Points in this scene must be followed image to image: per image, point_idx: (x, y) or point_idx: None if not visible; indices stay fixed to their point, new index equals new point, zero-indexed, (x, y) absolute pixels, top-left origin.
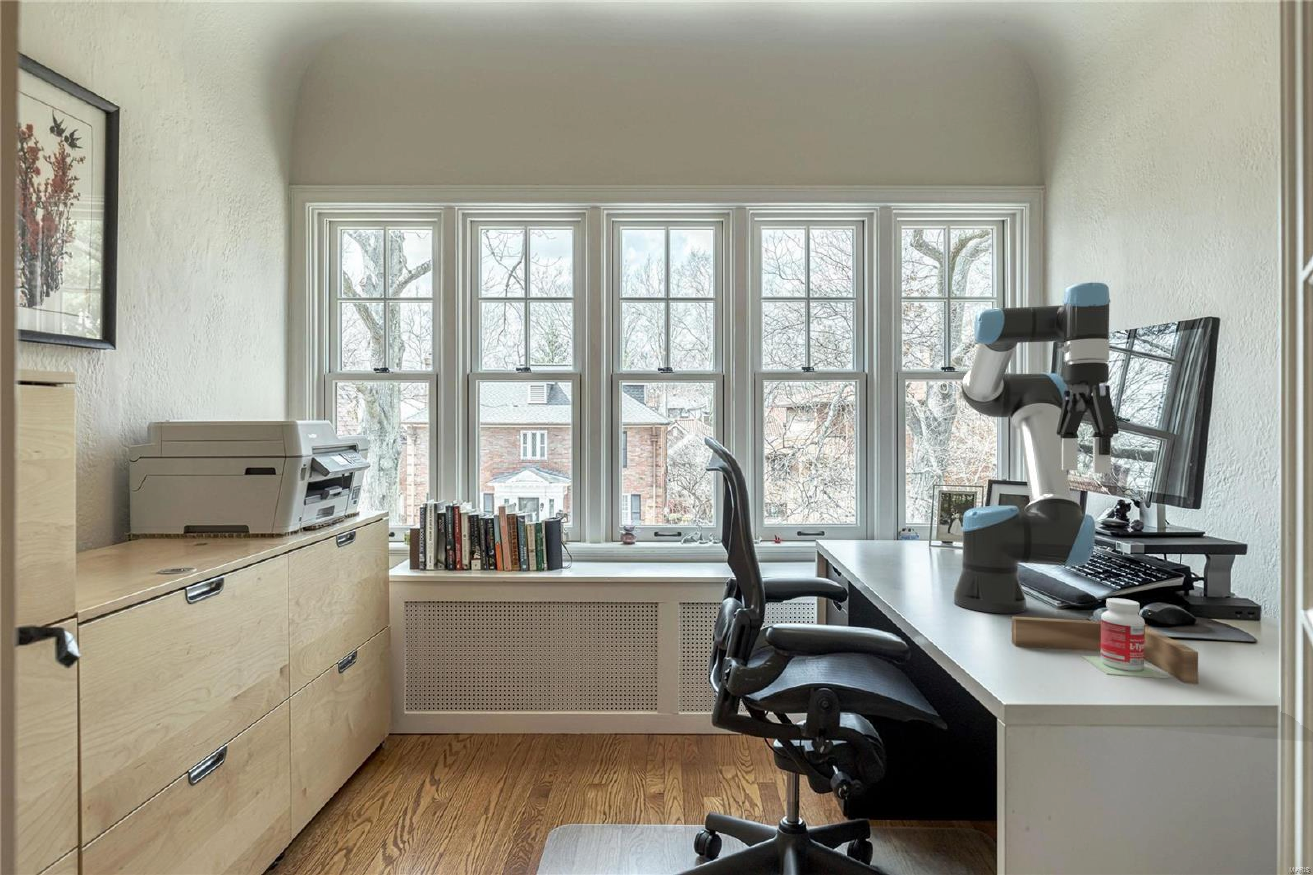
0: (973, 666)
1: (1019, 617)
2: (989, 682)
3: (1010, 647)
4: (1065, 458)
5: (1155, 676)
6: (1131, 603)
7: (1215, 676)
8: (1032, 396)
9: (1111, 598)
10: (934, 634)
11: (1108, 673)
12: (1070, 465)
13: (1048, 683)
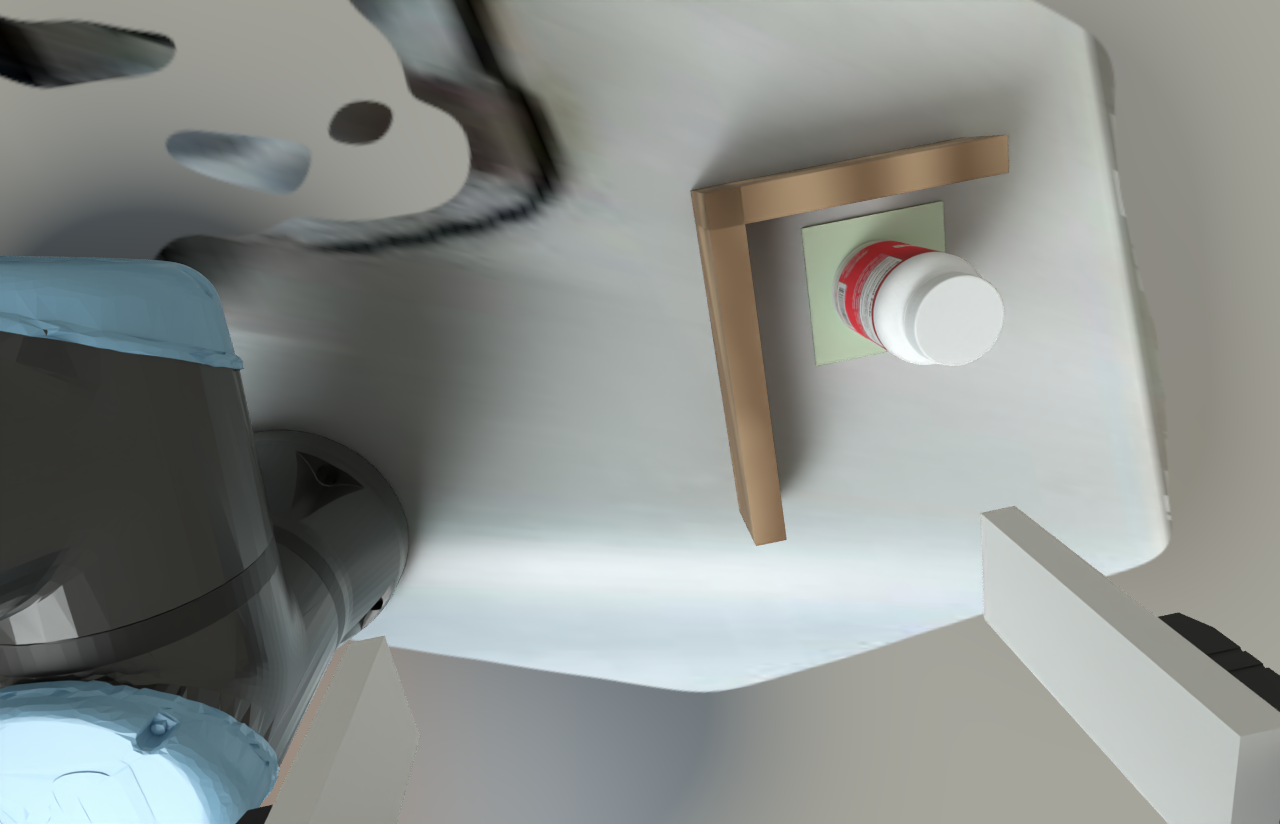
0: (963, 600)
1: (760, 528)
2: None
3: None
4: (389, 811)
5: (943, 230)
6: (989, 303)
7: (887, 62)
8: None
9: (924, 345)
10: (727, 672)
11: None
12: (393, 718)
13: (1040, 472)
